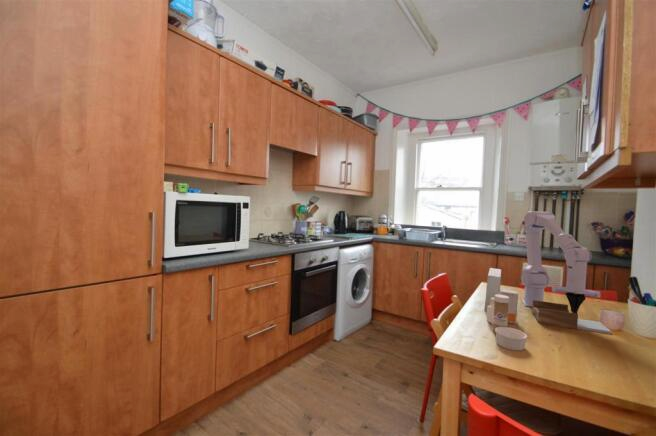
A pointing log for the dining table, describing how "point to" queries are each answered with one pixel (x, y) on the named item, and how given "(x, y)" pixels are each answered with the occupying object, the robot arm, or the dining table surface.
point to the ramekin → (510, 338)
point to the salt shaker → (490, 311)
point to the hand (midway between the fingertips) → (574, 312)
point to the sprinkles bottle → (500, 311)
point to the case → (554, 314)
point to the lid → (592, 326)
